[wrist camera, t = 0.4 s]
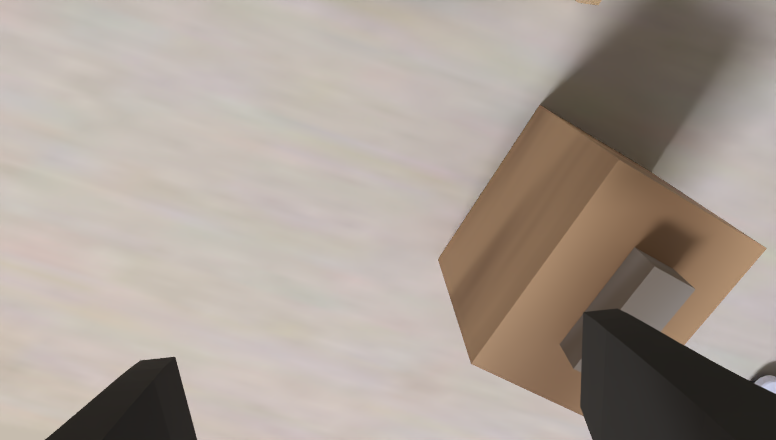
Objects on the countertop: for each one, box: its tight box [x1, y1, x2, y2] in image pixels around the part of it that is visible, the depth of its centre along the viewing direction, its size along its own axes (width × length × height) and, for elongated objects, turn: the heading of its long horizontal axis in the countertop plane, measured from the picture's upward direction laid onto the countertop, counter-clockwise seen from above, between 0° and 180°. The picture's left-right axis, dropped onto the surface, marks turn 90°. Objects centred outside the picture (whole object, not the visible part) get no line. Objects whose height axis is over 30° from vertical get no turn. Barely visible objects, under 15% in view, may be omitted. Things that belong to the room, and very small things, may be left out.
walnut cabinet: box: [438, 105, 767, 416], centre depth 17 cm, size 4×6×7 cm
